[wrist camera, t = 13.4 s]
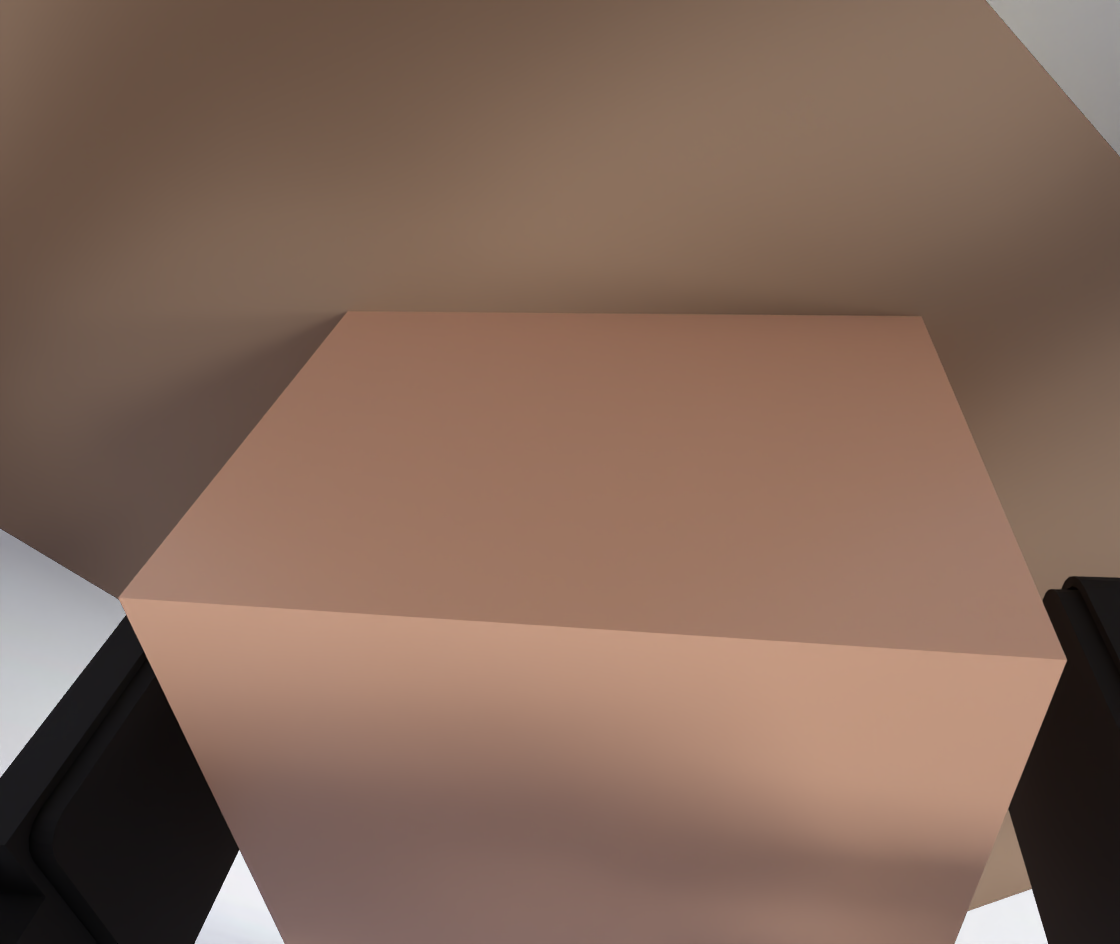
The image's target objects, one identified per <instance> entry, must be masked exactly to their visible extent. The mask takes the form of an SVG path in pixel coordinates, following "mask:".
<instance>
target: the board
mask: <svg viewBox="0 0 1120 944" xmlns="http://www.w3.org/2000/svg"><path fill="white" fill-rule="evenodd" d="M347 311H387V312H502V313H618V314H734V315H849V316H922V319H923V321H924V324H925V326H926V328H927V331H928V333H929V335H930V338H931V340H932V342H933V345H934V347H935V349H936V352H937V354H938V357H939V359H940V361H941V364H942V366H943V368H944V371H945V373H946V375H947V378H948V380H949V383H950V385H951V387H952V390H953V392H954V394H955V397H956V399H957V401H958V404H959V406H960V408H961V411H962V413H963V416H964V418H965V420H966V423H967V425H968V427H969V430H970V432H971V434H972V437H973V439H974V442H975V444H976V446H977V449H978V451H979V453H980V456H981V458H982V460H983V463H984V465H985V467H986V470H987V472H988V475H989V477H990V479H991V482H992V484H993V486H994V489H995V491H996V493H997V496H998V498H999V500H1000V503H1001V505H1002V508H1003V510H1004V512H1005V515H1006V517H1007V519H1008V522H1009V524H1010V526H1011V529H1012V531H1013V534H1014V536H1015V538H1016V541H1017V543H1018V545H1019V548H1020V550H1021V552H1022V555H1023V557H1024V559H1025V562H1026V564H1027V567H1028V569H1029V571H1030V574H1031V576H1032V578H1033V581H1034V583H1035V585H1036V588H1037V590H1038V593H1039V595H1040V597H1041V600H1042V601H1043V598H1044V596H1045V593H1046V592H1047V591H1048V590H1049V589H1061V588H1062V586H1063V584H1064V582H1065V580H1066V579H1067V578H1068V577H1071V576H1085V577H1118V578H1120V157H1119V155H1118V154H1117V153H1116V152H1115V151H1114V150H1113V148H1112V147H1111V146H1110V145H1109V144H1108V143H1107V141H1106V140H1105V139H1104V138H1103V137H1102V136H1101V134H1100V133H1099V132H1098V131H1097V130H1096V129H1095V127H1094V126H1093V125H1092V124H1091V123H1090V122H1089V120H1088V119H1087V118H1086V117H1085V116H1084V115H1083V113H1082V112H1081V111H1080V110H1079V109H1078V108H1077V106H1076V105H1075V104H1074V103H1073V102H1072V101H1071V99H1070V98H1069V97H1068V96H1067V95H1066V94H1065V92H1064V91H1063V90H1062V89H1061V88H1060V87H1059V85H1058V84H1057V83H1056V82H1055V81H1054V80H1053V78H1052V77H1051V76H1050V75H1049V74H1048V73H1047V71H1046V70H1045V69H1044V68H1043V67H1042V66H1041V64H1040V63H1039V62H1038V61H1037V60H1036V59H1035V57H1034V56H1033V55H1032V54H1031V53H1030V52H1029V50H1028V49H1027V48H1026V47H1025V46H1024V45H1023V43H1022V42H1021V41H1020V40H1019V39H1018V38H1017V36H1016V35H1015V34H1014V33H1013V32H1012V31H1011V29H1010V28H1009V27H1008V26H1007V25H1006V24H1005V22H1004V21H1003V20H1002V19H1001V18H1000V17H999V15H998V14H997V13H996V12H995V11H994V10H993V8H992V7H991V6H990V5H989V4H988V3H987V1H986V0H0V529H2V530H4V531H5V532H7V533H9V534H10V535H12V536H14V537H15V538H17V539H19V540H20V541H22V542H24V543H25V544H27V545H29V546H30V547H32V548H34V549H35V550H37V551H39V552H40V553H42V554H44V555H45V556H47V557H49V558H50V559H52V560H54V561H55V562H57V563H59V564H60V565H62V566H64V567H65V568H67V569H69V570H70V571H72V572H74V573H75V574H77V575H79V576H80V577H82V578H84V579H85V580H87V581H89V582H90V583H92V584H94V585H95V586H97V587H99V588H100V589H102V590H104V591H106V592H107V593H109V594H111V595H112V596H114V597H116V598H117V599H119V598H118V597H119V596H120V595H121V594H122V592H123V591H124V590H125V589H126V587H127V586H128V585H129V584H130V582H131V581H132V580H133V579H134V577H135V576H136V575H137V574H138V572H139V571H140V570H141V569H142V567H143V566H144V565H145V564H146V562H147V561H148V560H149V559H150V557H151V556H152V555H153V554H154V552H155V551H156V550H157V549H158V547H159V546H160V545H161V544H162V542H163V541H164V540H165V539H166V537H167V536H168V535H169V534H170V532H171V531H172V530H173V529H174V527H175V526H176V525H177V524H178V522H179V521H180V520H181V519H182V517H183V516H184V515H185V514H186V512H187V511H188V510H189V509H190V507H191V506H192V505H193V504H194V502H195V501H196V500H197V499H198V497H199V496H200V495H201V494H202V492H203V491H204V490H205V489H206V488H207V486H208V485H209V484H210V483H211V481H212V480H213V479H214V478H215V476H216V475H217V474H218V473H219V471H220V470H221V469H222V468H223V466H224V465H225V464H226V463H227V461H228V460H229V459H230V458H231V456H232V455H233V454H234V453H235V451H236V450H237V449H238V448H239V446H240V445H241V444H242V443H243V441H244V440H245V439H246V438H247V436H248V435H249V434H250V433H251V431H252V430H253V429H254V428H255V426H256V425H257V424H258V423H259V421H260V420H261V419H262V418H263V416H264V415H265V414H266V413H267V411H268V410H269V409H270V408H271V406H272V405H273V404H274V403H275V401H276V400H277V399H278V398H279V396H280V395H281V394H282V393H283V391H284V390H285V389H286V388H287V386H288V385H289V384H290V383H291V381H292V380H293V379H294V378H295V376H296V375H297V374H298V373H299V371H300V370H301V369H302V368H303V366H304V365H305V364H306V363H307V361H308V360H309V359H310V358H311V356H312V355H313V354H314V353H315V351H316V350H317V349H318V348H319V346H320V345H321V344H322V343H323V341H324V340H325V339H326V338H327V336H328V335H329V334H330V333H331V331H332V330H333V329H334V328H335V326H336V325H337V324H338V323H339V321H340V320H341V319H342V318H343V316H344V315H345V314H346V313H347ZM1030 889H1032V887H1031V884H1030V880H1029V877H1028V874H1027V870H1026V867H1025V864H1024V860H1023V857H1022V853H1021V850H1020V847H1019V843H1018V840H1017V837H1016V833H1015V830H1014V827H1013V823H1012V820H1011V816H1010V813H1009V810H1007V813H1006V815H1005V818H1004V820H1003V823H1002V825H1001V828H1000V830H999V833H998V835H997V838H996V840H995V843H994V845H993V848H992V850H991V853H990V855H989V858H988V860H987V863H986V865H985V868H984V870H983V873H982V875H981V878H980V881H979V883H978V886H977V888H976V891H975V893H974V896H973V898H972V901H971V903H970V906H969V908H968V911H969V910H972V909H975V908H978V907H981V906H984V905H987V904H990V903H992V902H995V901H998V900H1001V899H1004V898H1007V897H1010V896H1012V895H1015V894H1018V893H1021V892H1024V891H1027V890H1030Z"/></svg>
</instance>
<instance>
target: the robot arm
mask: <svg viewBox="0 0 1120 944" xmlns="http://www.w3.org/2000/svg"><path fill="white" fill-rule="evenodd" d="M1042 602H1043V604H1044V607H1045V609H1046V611H1047V614H1048V616H1049V618H1050V621H1051V623H1052V626H1053V628H1054V630H1055V633H1056V635H1057V637H1058V640H1059V642H1060V644H1061V647H1062V649H1063V651H1064V654H1065V656H1066V659H1067V662H1066V664H1065V667H1064V669H1063V672H1062V674H1061V677H1060V679H1059V682H1058V684H1057V687H1056V689H1055V692H1054V694H1053V697H1052V699H1051V702H1050V704H1049V707H1048V709H1047V712H1046V714H1045V717H1044V719H1043V722H1042V724H1041V727H1040V730H1039V732H1038V735H1037V737H1036V740H1035V742H1034V745H1033V747H1032V750H1031V752H1030V755H1029V757H1028V760H1027V762H1026V765H1025V767H1024V770H1023V772H1022V775H1021V777H1020V780H1019V782H1018V785H1017V787H1016V790H1015V792H1014V795H1013V797H1012V800H1011V802H1010V805H1009V808H1008V810H1009V813H1010V816H1011V820H1012V823H1013V827H1014V830H1015V833H1016V837H1017V840H1018V843H1019V847H1020V850H1021V853H1022V857H1023V860H1024V864H1025V867H1026V870H1027V874H1028V877H1029V880H1030V884H1031V887H1032V890H1033V894H1034V897H1035V901H1036V904H1037V907H1038V911H1039V914H1040V917H1041V921H1042V924H1043V927H1044V931H1045V934H1046V937H1047V941H1048V944H1120V578H1118V577H1085V576H1071V577H1068V578H1067V579H1066V580H1065V582H1064V584H1063V586H1062V588H1061V589H1049V590H1048V591H1047V592H1046V593H1045V596H1044V598H1043V601H1042ZM238 851H239V848H238V845H237V843H236V841H235V839H234V837H233V835H232V833H231V831H230V829H229V827H228V825H227V823H226V821H225V818H224V816H223V814H222V812H221V810H220V808H219V806H218V804H217V802H216V800H215V798H214V796H213V794H212V791H211V789H210V787H209V785H208V783H207V781H206V779H205V777H204V775H203V773H202V771H201V769H200V767H199V764H198V762H197V760H196V758H195V756H194V754H193V752H192V750H191V748H190V746H189V744H188V742H187V740H186V737H185V735H184V733H183V731H182V729H181V727H180V725H179V723H178V721H177V719H176V717H175V715H174V713H173V710H172V708H171V706H170V704H169V702H168V700H167V698H166V696H165V694H164V692H163V690H162V688H161V686H160V683H159V681H158V679H157V677H156V675H155V673H154V671H153V669H152V667H151V665H150V663H149V661H148V659H147V656H146V654H145V652H144V650H143V648H142V646H141V644H140V642H139V640H138V638H137V636H136V634H135V632H134V629H133V627H132V625H131V623H130V621H129V619H128V617H127V615H126V616H125V617H124V619H123V620H122V621H121V622H120V624H119V625H118V626H117V628H116V629H115V630H114V631H113V633H112V634H111V635H110V637H109V638H108V639H107V641H106V642H105V643H104V644H103V646H102V647H101V648H100V650H99V651H98V652H97V653H96V655H95V656H94V657H93V659H92V660H91V661H90V663H89V664H88V665H87V666H86V668H85V669H84V670H83V672H82V673H81V674H80V675H79V677H78V678H77V679H76V681H75V682H74V683H73V685H72V686H71V687H70V688H69V690H68V691H67V692H66V694H65V695H64V696H63V697H62V699H61V700H60V701H59V703H58V704H57V705H56V707H55V708H54V709H53V710H52V712H51V713H50V714H49V716H48V717H47V718H46V720H45V721H44V722H43V723H42V725H41V726H40V727H39V729H38V730H37V731H36V732H35V734H34V735H33V736H32V738H31V739H30V740H29V742H28V743H27V744H26V745H25V747H24V748H23V749H22V751H21V752H20V753H19V754H18V756H17V757H16V758H15V760H14V761H13V762H12V764H11V765H10V766H9V767H8V769H7V770H6V771H5V773H4V774H3V775H2V776H1V778H0V944H194V943H195V941H196V939H197V937H198V935H199V933H200V930H201V928H202V926H203V924H204V922H205V920H206V918H207V916H208V914H209V912H210V910H211V908H212V905H213V903H214V901H215V899H216V897H217V895H218V893H219V891H220V889H221V887H222V885H223V883H224V880H225V878H226V876H227V874H228V872H229V870H230V868H231V866H232V864H233V862H234V860H235V858H236V855H237V853H238Z"/></svg>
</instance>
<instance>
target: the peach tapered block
mask: <svg viewBox="0 0 1120 944" xmlns="http://www.w3.org/2000/svg"><path fill="white" fill-rule="evenodd" d="M118 598H119V600H120V602H121V605H122V607H123V609H124V611H125V613H126V615H127V617H128V619H129V621H130V623H131V625H132V627H133V629H134V632H135V634H136V636H137V638H138V640H139V642H140V644H141V646H142V648H143V650H144V652H145V654H146V656H147V659H148V661H149V663H150V665H151V667H152V669H153V671H154V673H155V675H156V677H157V679H158V681H159V683H160V686H161V688H162V690H163V692H164V694H165V696H166V698H167V700H168V702H169V704H170V706H171V708H172V710H173V713H174V715H175V717H176V719H177V721H178V723H179V725H180V727H181V729H182V731H183V733H184V735H185V737H186V740H187V742H188V744H189V746H190V748H191V750H192V752H193V754H194V756H195V758H196V760H197V762H198V764H199V767H200V769H201V771H202V773H203V775H204V777H205V779H206V781H207V783H208V785H209V787H210V789H211V791H212V794H213V796H214V798H215V800H216V802H217V804H218V806H219V808H220V810H221V812H222V814H223V816H224V818H225V821H226V823H227V825H228V827H229V829H230V831H231V833H232V835H233V837H234V839H235V841H236V843H237V845H238V848H239V850H240V852H241V854H242V856H243V858H244V860H245V862H246V864H247V866H248V868H249V870H250V872H251V875H252V877H253V879H254V881H255V883H256V885H257V887H258V889H259V891H260V893H261V895H262V897H263V899H264V902H265V904H266V906H267V908H268V910H269V912H270V914H271V916H272V918H273V920H274V922H275V924H276V926H277V929H278V931H279V933H280V935H281V937H282V939H283V941H284V943H285V944H954V943H955V941H956V938H957V936H958V933H959V931H960V928H961V926H962V923H963V921H964V918H965V916H966V913H967V911H968V908H969V906H970V903H971V901H972V898H973V896H974V893H975V891H976V888H977V886H978V883H979V881H980V878H981V875H982V873H983V870H984V868H985V865H986V863H987V860H988V858H989V855H990V853H991V850H992V848H993V845H994V843H995V840H996V838H997V835H998V833H999V830H1000V828H1001V825H1002V823H1003V820H1004V818H1005V815H1006V813H1007V810H1008V808H1009V805H1010V802H1011V800H1012V797H1013V795H1014V792H1015V790H1016V787H1017V785H1018V782H1019V780H1020V777H1021V775H1022V772H1023V770H1024V767H1025V765H1026V762H1027V760H1028V757H1029V755H1030V752H1031V750H1032V747H1033V745H1034V742H1035V740H1036V737H1037V735H1038V732H1039V730H1040V727H1041V724H1042V722H1043V719H1044V717H1045V714H1046V712H1047V709H1048V707H1049V704H1050V702H1051V699H1052V697H1053V694H1054V692H1055V689H1056V687H1057V684H1058V682H1059V679H1060V677H1061V674H1062V672H1063V669H1064V667H1065V664H1066V662H1067V659H1066V656H1065V654H1064V651H1063V649H1062V647H1061V644H1060V642H1059V640H1058V637H1057V635H1056V633H1055V630H1054V628H1053V626H1052V623H1051V621H1050V618H1049V616H1048V614H1047V611H1046V609H1045V607H1044V604H1043V602H1042V600H1041V597H1040V595H1039V593H1038V590H1037V588H1036V585H1035V583H1034V581H1033V578H1032V576H1031V574H1030V571H1029V569H1028V567H1027V564H1026V562H1025V559H1024V557H1023V555H1022V552H1021V550H1020V548H1019V545H1018V543H1017V541H1016V538H1015V536H1014V534H1013V531H1012V529H1011V526H1010V524H1009V522H1008V519H1007V517H1006V515H1005V512H1004V510H1003V508H1002V505H1001V503H1000V500H999V498H998V496H997V493H996V491H995V489H994V486H993V484H992V482H991V479H990V477H989V475H988V472H987V470H986V467H985V465H984V463H983V460H982V458H981V456H980V453H979V451H978V449H977V446H976V444H975V442H974V439H973V437H972V434H971V432H970V430H969V427H968V425H967V423H966V420H965V418H964V416H963V413H962V411H961V408H960V406H959V404H958V401H957V399H956V397H955V394H954V392H953V390H952V387H951V385H950V383H949V380H948V378H947V375H946V373H945V371H944V368H943V366H942V364H941V361H940V359H939V357H938V354H937V352H936V349H935V347H934V345H933V342H932V340H931V338H930V335H929V333H928V331H927V328H926V326H925V324H924V321H923V319H922V316H849V315H734V314H618V313H502V312H387V311H347V313H346V314H345V315H344V316H343V318H342V319H341V320H340V321H339V323H338V324H337V325H336V326H335V328H334V329H333V330H332V331H331V333H330V334H329V335H328V336H327V338H326V339H325V340H324V341H323V343H322V344H321V345H320V346H319V348H318V349H317V350H316V351H315V353H314V354H313V355H312V356H311V358H310V359H309V360H308V361H307V363H306V364H305V365H304V366H303V368H302V369H301V370H300V371H299V373H298V374H297V375H296V376H295V378H294V379H293V380H292V381H291V383H290V384H289V385H288V386H287V388H286V389H285V390H284V391H283V393H282V394H281V395H280V396H279V398H278V399H277V400H276V401H275V403H274V404H273V405H272V406H271V408H270V409H269V410H268V411H267V413H266V414H265V415H264V416H263V418H262V419H261V420H260V421H259V423H258V424H257V425H256V426H255V428H254V429H253V430H252V431H251V433H250V434H249V435H248V436H247V438H246V439H245V440H244V441H243V443H242V444H241V445H240V446H239V448H238V449H237V450H236V451H235V453H234V454H233V455H232V456H231V458H230V459H229V460H228V461H227V463H226V464H225V465H224V466H223V468H222V469H221V470H220V471H219V473H218V474H217V475H216V476H215V478H214V479H213V480H212V481H211V483H210V484H209V485H208V486H207V488H206V489H205V490H204V491H203V492H202V494H201V495H200V496H199V497H198V499H197V500H196V501H195V502H194V504H193V505H192V506H191V507H190V509H189V510H188V511H187V512H186V514H185V515H184V516H183V517H182V519H181V520H180V521H179V522H178V524H177V525H176V526H175V527H174V529H173V530H172V531H171V532H170V534H169V535H168V536H167V537H166V539H165V540H164V541H163V542H162V544H161V545H160V546H159V547H158V549H157V550H156V551H155V552H154V554H153V555H152V556H151V557H150V559H149V560H148V561H147V562H146V564H145V565H144V566H143V567H142V569H141V570H140V571H139V572H138V574H137V575H136V576H135V577H134V579H133V580H132V581H131V582H130V584H129V585H128V586H127V587H126V589H125V590H124V591H123V592H122V594H121V595H120V596H119V597H118Z"/></svg>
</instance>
